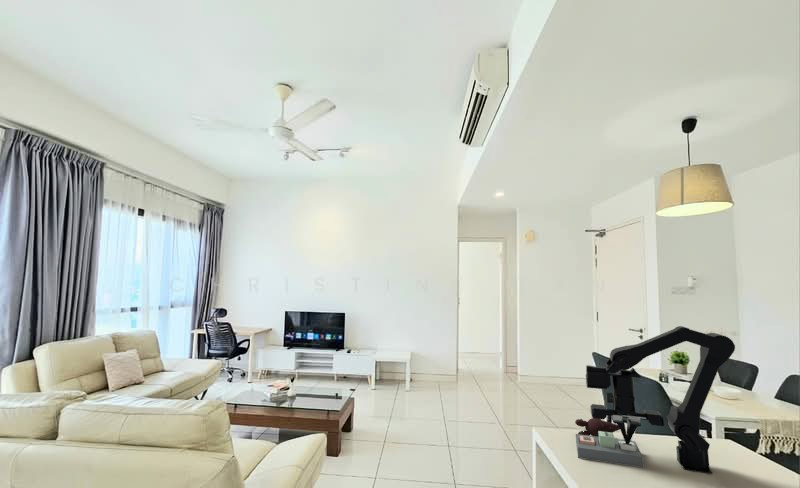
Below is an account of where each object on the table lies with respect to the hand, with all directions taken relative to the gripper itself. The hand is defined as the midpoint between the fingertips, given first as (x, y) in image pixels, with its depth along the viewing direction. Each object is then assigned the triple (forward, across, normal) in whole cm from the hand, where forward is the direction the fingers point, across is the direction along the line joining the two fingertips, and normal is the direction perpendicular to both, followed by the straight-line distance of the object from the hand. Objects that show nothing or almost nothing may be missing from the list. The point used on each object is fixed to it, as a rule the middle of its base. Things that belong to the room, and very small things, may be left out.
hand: (627, 443), depth 114 cm
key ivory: (+4, 0, 0) cm, 4 cm away
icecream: (+4, +6, -13) cm, 15 cm away
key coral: (+4, +11, 0) cm, 12 cm away
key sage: (+2, +6, 0) cm, 6 cm away
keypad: (+4, +6, 0) cm, 7 cm away
